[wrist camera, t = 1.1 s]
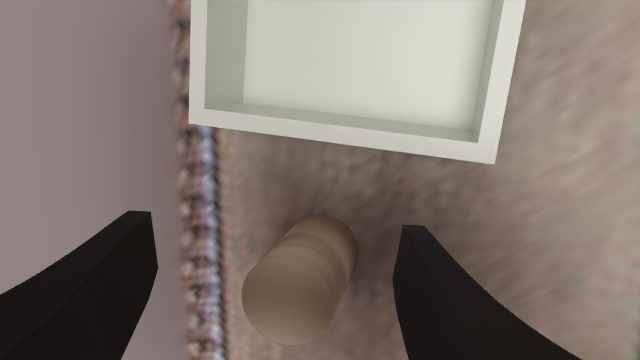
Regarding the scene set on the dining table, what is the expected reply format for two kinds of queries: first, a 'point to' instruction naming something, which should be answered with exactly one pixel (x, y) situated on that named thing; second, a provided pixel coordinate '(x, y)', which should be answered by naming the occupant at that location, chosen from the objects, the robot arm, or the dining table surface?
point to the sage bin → (358, 71)
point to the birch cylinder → (300, 281)
